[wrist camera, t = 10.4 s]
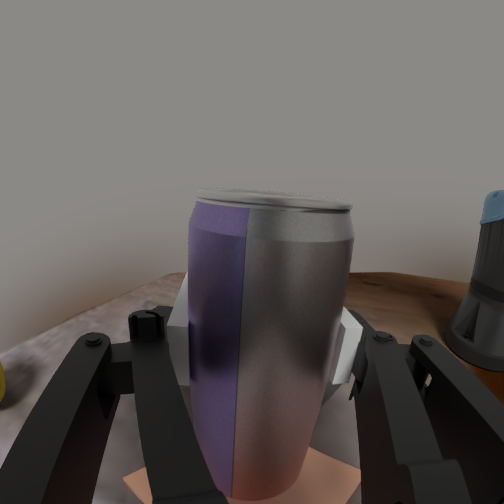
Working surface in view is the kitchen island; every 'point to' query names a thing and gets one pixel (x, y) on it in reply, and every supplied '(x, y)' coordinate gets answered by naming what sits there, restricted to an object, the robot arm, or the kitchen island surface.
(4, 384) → the lemon
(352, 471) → the terracotta tile
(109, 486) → the kitchen island surface
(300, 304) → the beverage can
